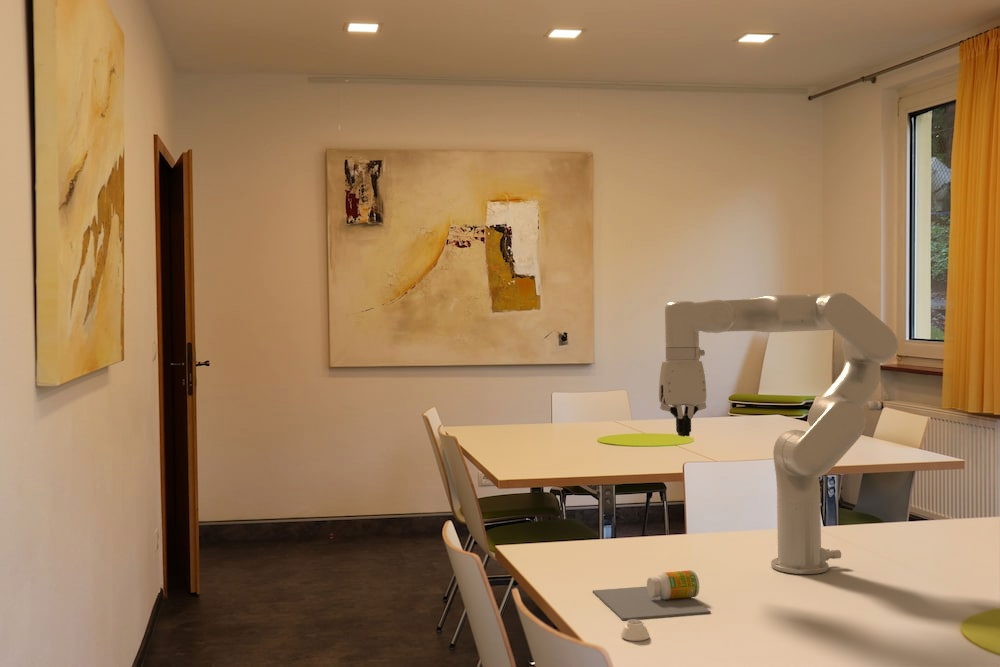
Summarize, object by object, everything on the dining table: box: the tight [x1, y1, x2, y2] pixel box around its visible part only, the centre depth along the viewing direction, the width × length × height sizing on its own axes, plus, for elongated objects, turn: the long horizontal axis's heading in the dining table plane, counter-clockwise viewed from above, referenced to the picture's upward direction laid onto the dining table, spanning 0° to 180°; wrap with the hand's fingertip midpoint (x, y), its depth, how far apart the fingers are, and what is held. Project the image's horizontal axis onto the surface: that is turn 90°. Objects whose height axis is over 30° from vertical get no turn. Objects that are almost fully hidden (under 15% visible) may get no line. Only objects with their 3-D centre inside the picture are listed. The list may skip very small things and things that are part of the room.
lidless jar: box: [620, 619, 650, 642], centre depth 173 cm, size 5×3×5 cm
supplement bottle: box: [646, 569, 700, 600], centre depth 195 cm, size 5×5×10 cm
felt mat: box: [592, 585, 712, 621], centre depth 194 cm, size 18×20×1 cm
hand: (683, 435), depth 218 cm, fingers closed
